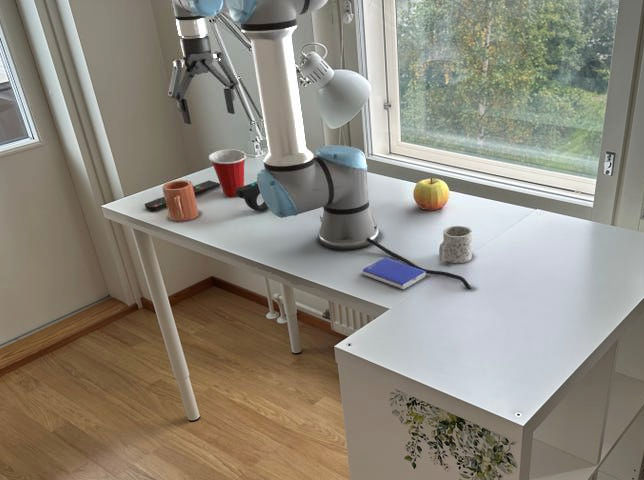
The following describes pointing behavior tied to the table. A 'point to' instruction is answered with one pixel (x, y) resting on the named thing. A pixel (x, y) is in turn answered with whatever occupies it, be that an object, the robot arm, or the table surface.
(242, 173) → the plastic cup
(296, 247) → the table surface
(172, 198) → the mug
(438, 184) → the apple
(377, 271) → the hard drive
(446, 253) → the mug
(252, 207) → the controller
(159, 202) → the remote control
